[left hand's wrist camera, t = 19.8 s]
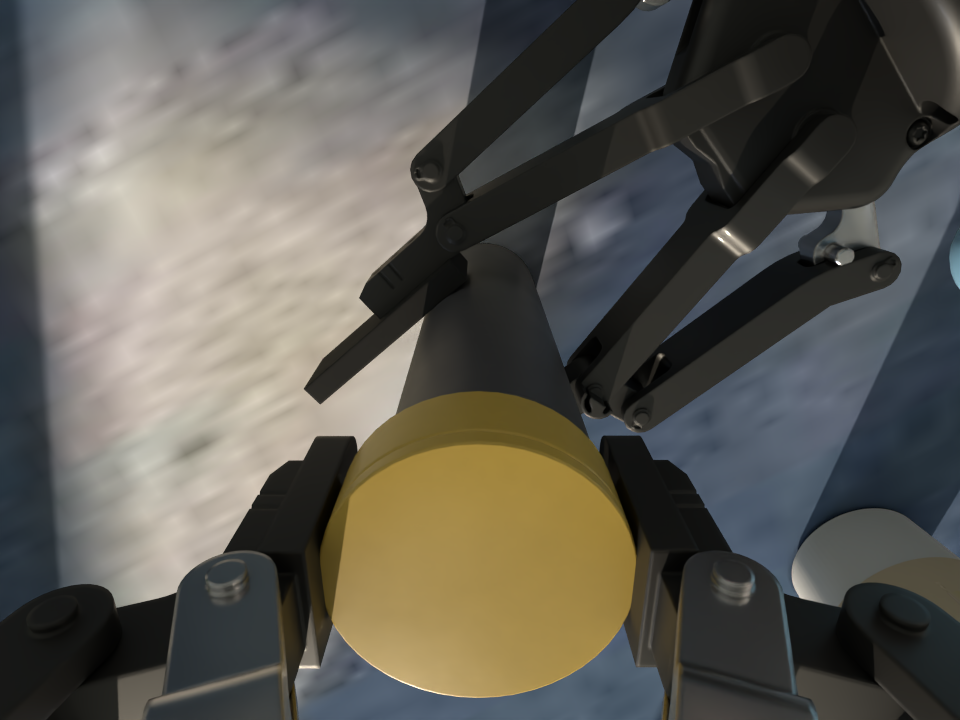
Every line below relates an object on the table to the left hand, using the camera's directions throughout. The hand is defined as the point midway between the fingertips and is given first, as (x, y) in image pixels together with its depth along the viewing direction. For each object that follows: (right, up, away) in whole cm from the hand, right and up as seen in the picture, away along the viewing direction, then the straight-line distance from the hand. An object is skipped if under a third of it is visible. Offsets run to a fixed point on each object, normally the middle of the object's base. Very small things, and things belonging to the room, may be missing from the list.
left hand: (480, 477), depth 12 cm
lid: (0, -1, -2) cm, 3 cm away
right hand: (-4, 0, +10) cm, 10 cm away
